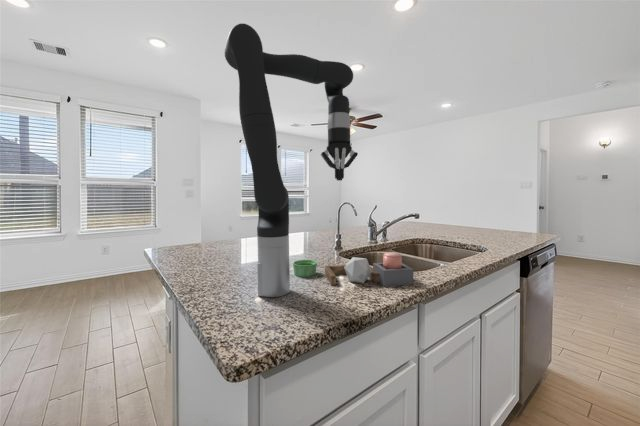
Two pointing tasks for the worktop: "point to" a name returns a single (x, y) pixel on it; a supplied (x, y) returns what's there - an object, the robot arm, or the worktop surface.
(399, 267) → the popper button
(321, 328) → the worktop surface
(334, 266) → the walnut bay
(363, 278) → the die
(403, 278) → the box
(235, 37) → the robot arm
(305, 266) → the ramekin
